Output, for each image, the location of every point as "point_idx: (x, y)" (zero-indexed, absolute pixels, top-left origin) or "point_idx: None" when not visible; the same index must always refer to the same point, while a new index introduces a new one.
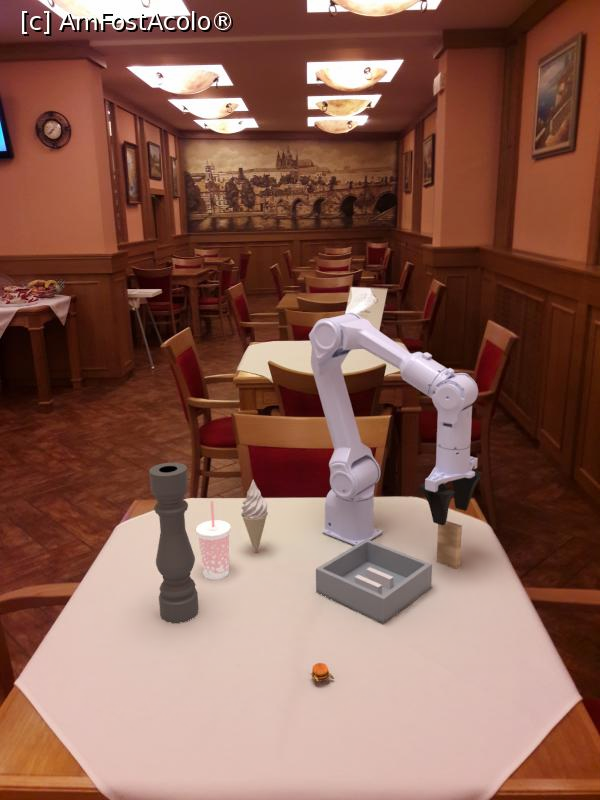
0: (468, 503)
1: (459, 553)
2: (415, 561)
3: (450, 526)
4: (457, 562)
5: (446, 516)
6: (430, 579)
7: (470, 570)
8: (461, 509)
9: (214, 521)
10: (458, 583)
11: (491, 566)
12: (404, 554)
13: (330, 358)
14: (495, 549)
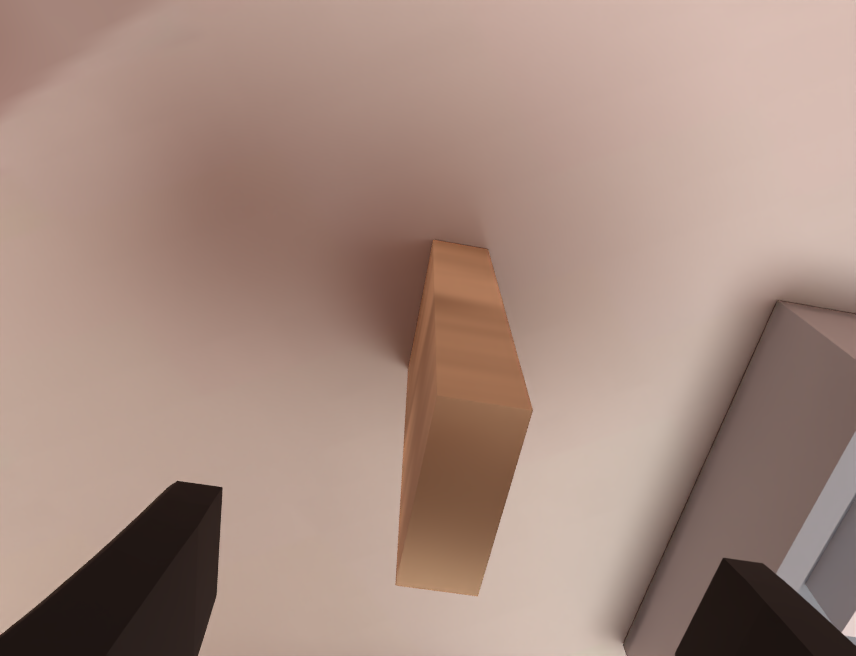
0: (146, 543)
1: (452, 277)
2: (851, 484)
3: (510, 482)
4: (473, 259)
5: (831, 650)
6: (826, 328)
7: (458, 157)
8: (218, 535)
9: None
10: (664, 172)
11: (321, 34)
12: (790, 568)
13: None
14: (51, 91)
